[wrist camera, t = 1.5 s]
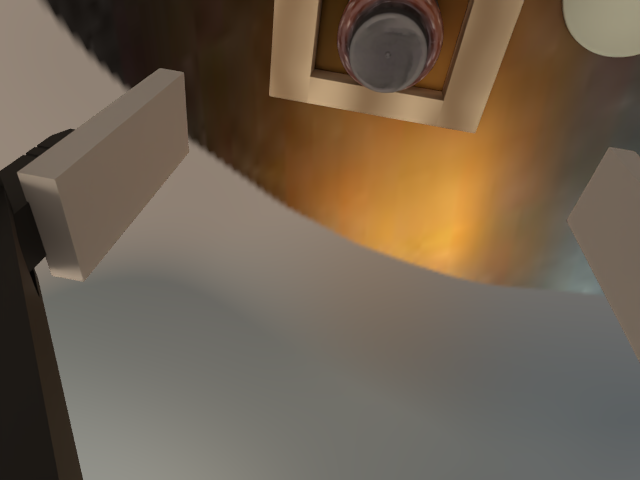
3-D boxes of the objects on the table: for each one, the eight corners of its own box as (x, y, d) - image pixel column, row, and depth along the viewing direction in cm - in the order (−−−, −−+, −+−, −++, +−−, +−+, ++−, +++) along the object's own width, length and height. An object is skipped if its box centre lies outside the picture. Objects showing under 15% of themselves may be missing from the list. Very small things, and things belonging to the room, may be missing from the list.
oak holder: (550, -96, 27) (559, -95, 25) (472, 122, 36) (475, 133, 34) (289, -138, 28) (282, -140, 26) (275, 87, 36) (269, 95, 35)
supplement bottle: (342, -28, 31) (316, 4, 22) (431, -52, 29) (443, -29, 20) (359, 61, 34) (342, 119, 25) (439, 43, 32) (453, 99, 24)
